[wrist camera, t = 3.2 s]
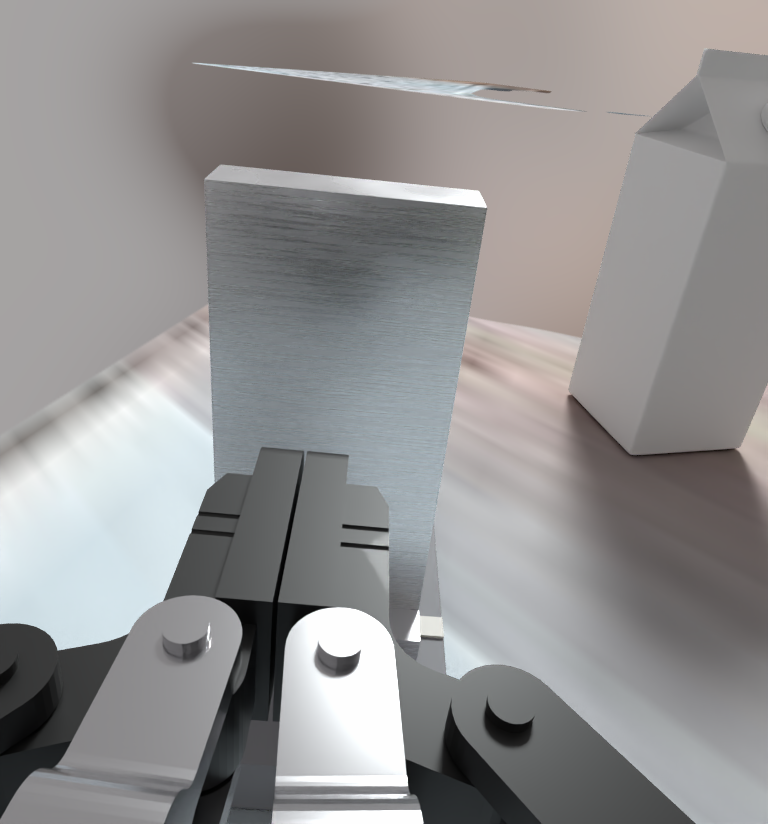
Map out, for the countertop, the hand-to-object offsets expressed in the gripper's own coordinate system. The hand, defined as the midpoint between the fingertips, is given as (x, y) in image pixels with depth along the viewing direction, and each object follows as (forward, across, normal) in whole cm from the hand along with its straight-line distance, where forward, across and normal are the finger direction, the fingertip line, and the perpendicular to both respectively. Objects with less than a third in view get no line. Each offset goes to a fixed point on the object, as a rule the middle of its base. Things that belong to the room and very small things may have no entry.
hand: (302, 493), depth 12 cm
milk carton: (+25, -18, +11) cm, 33 cm away
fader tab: (+6, 0, +9) cm, 11 cm away
